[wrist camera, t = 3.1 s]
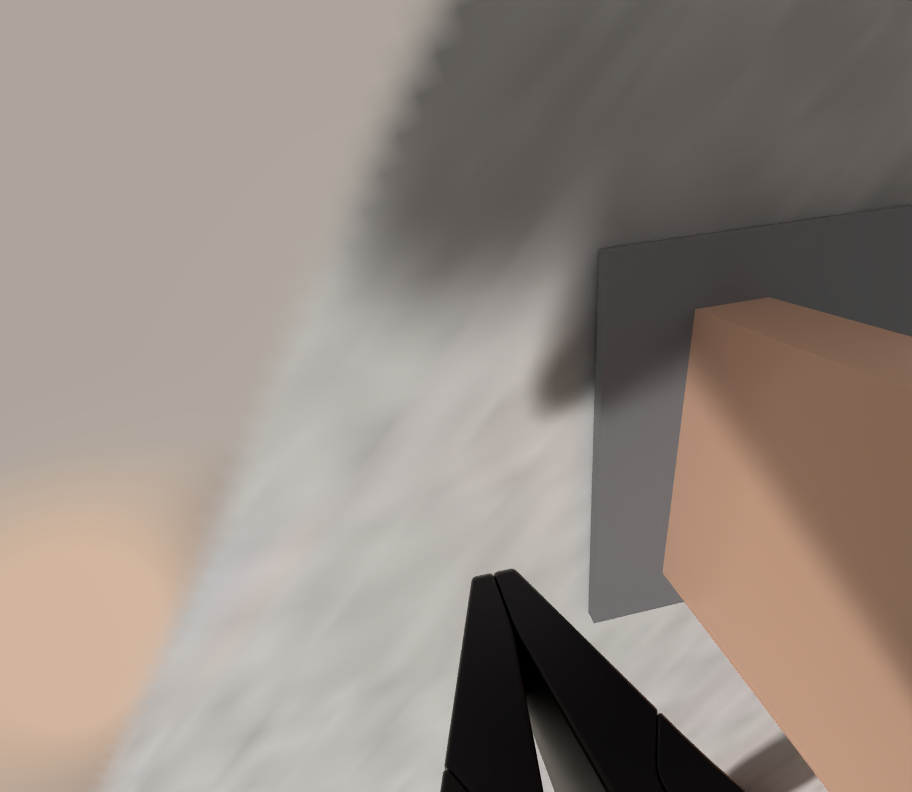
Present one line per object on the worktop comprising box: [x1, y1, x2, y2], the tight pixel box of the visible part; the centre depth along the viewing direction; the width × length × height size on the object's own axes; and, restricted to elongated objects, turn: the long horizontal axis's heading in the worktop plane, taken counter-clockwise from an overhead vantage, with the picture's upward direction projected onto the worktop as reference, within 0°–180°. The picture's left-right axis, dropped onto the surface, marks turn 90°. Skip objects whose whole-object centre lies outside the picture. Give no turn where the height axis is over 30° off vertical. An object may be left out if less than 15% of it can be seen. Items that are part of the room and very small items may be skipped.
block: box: [662, 297, 912, 792], centre depth 9 cm, size 2×8×6 cm, turn 6°
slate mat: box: [589, 205, 912, 623], centre depth 12 cm, size 13×11×1 cm
